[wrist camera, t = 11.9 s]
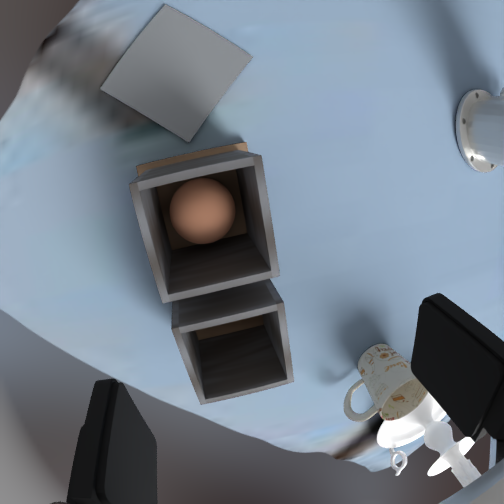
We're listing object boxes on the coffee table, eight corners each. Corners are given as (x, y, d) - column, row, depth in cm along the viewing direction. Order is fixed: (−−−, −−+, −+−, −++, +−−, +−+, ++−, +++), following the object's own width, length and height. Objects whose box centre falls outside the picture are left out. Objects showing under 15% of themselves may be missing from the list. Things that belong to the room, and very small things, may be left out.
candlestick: (344, 455, 55) (397, 559, 30) (403, 365, 48) (499, 480, 23) (410, 442, 61) (465, 522, 35) (466, 363, 54) (546, 443, 28)
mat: (165, 5, 25) (165, 4, 24) (252, 58, 29) (253, 57, 28) (100, 89, 27) (99, 89, 26) (188, 142, 30) (188, 142, 30)
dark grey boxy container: (137, 165, 30) (114, 179, 20) (244, 142, 32) (272, 144, 21) (188, 345, 38) (193, 410, 28) (275, 324, 40) (303, 383, 30)
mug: (403, 350, 47) (437, 387, 38) (347, 402, 48) (373, 444, 39) (381, 327, 44) (418, 367, 35) (319, 384, 45) (345, 432, 36)
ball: (193, 162, 30) (192, 168, 25) (243, 195, 32) (253, 208, 27) (160, 213, 31) (153, 230, 26) (210, 243, 33) (214, 265, 28)
